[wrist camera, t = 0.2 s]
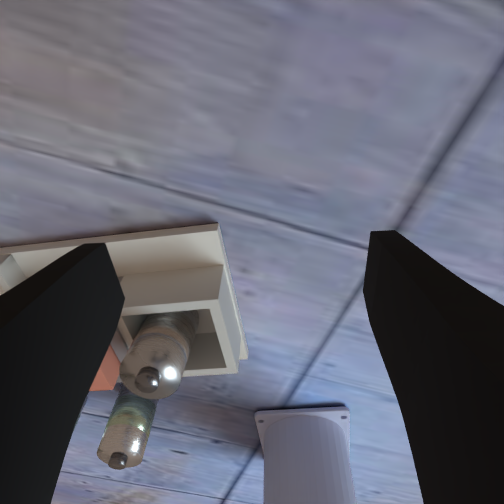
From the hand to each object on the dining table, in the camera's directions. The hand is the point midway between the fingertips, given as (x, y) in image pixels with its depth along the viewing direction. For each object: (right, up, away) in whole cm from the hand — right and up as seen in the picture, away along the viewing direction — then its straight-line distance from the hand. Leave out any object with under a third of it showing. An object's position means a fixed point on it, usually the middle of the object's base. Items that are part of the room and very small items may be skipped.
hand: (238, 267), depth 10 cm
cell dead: (-5, -4, +14) cm, 15 cm away
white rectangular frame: (-10, -3, +15) cm, 18 cm away
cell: (-9, -11, +20) cm, 25 cm away
